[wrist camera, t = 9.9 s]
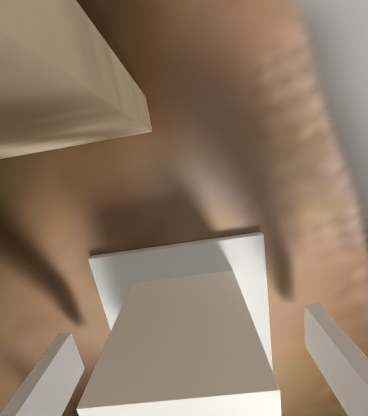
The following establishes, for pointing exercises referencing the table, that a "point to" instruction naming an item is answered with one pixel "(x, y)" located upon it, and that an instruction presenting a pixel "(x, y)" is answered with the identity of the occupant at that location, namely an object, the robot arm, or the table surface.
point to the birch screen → (61, 81)
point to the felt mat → (189, 272)
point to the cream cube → (183, 354)
